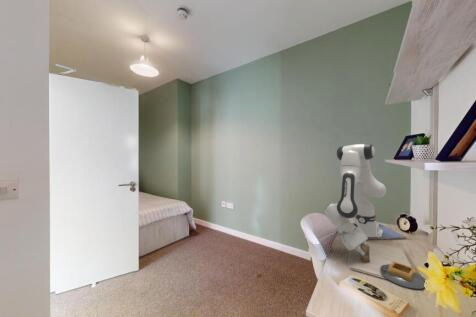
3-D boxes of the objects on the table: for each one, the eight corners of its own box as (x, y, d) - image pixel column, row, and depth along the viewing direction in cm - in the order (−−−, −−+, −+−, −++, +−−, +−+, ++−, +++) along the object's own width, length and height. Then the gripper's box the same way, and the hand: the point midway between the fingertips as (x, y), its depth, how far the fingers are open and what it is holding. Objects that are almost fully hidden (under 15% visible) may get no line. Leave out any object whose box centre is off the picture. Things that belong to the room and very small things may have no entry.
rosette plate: (386, 263, 96) (386, 255, 96) (429, 279, 83) (429, 269, 83) (375, 275, 87) (375, 266, 87) (422, 295, 74) (422, 284, 74)
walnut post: (362, 257, 103) (362, 243, 103) (370, 260, 99) (370, 246, 100) (359, 260, 100) (359, 245, 100) (368, 263, 97) (367, 248, 97)
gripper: (342, 231, 100) (363, 256, 92) (358, 223, 111) (377, 244, 104) (334, 236, 103) (353, 261, 95) (350, 228, 115) (368, 249, 107)
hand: (366, 252), depth 99 cm, fingers open, 4 cm apart
